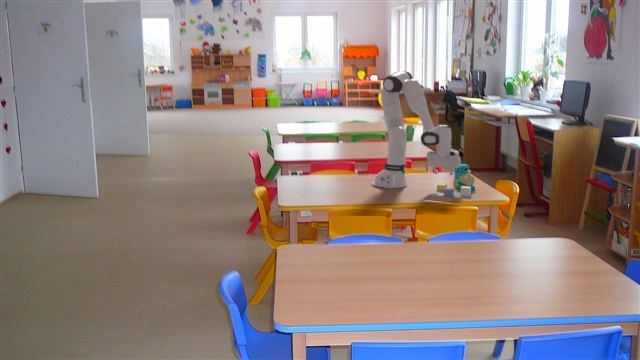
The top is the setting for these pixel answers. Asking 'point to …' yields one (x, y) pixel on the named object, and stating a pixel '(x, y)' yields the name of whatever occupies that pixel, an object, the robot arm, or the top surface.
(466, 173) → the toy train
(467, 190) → the white block
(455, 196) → the build plate
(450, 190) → the blue block
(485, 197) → the top surface
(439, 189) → the mustard block
